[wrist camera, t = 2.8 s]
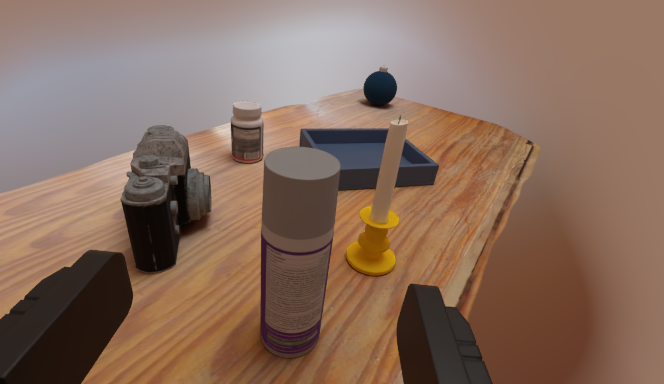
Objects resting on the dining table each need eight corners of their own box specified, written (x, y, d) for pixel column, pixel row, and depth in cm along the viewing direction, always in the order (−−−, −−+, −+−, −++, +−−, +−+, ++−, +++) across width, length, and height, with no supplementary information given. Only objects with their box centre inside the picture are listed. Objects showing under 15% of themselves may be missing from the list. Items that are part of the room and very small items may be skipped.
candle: (345, 272, 34) (371, 120, 26) (346, 240, 39) (369, 102, 31) (397, 279, 34) (438, 129, 26) (392, 246, 39) (426, 110, 31)
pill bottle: (240, 149, 57) (239, 98, 53) (267, 154, 56) (268, 103, 52) (226, 160, 53) (223, 106, 48) (255, 166, 52) (255, 111, 48)
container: (274, 302, 30) (280, 140, 22) (326, 316, 29) (350, 154, 22) (249, 348, 26) (247, 169, 18) (309, 366, 25) (332, 188, 18)
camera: (211, 268, 33) (203, 174, 28) (130, 276, 31) (106, 177, 26) (212, 190, 45) (207, 115, 40) (154, 192, 43) (141, 113, 38)
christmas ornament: (374, 98, 95) (381, 60, 90) (399, 107, 90) (407, 67, 85) (354, 102, 90) (360, 61, 85) (380, 111, 85) (387, 69, 80)
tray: (389, 144, 66) (392, 128, 64) (433, 184, 53) (439, 165, 52) (299, 146, 60) (300, 128, 59) (324, 191, 48) (327, 170, 46)
